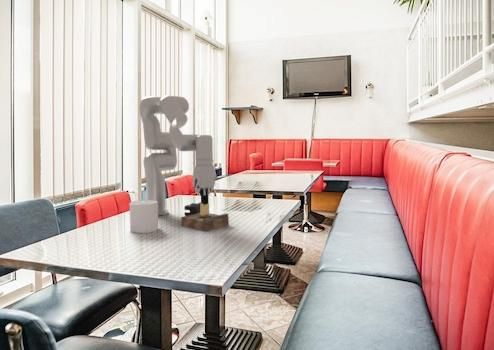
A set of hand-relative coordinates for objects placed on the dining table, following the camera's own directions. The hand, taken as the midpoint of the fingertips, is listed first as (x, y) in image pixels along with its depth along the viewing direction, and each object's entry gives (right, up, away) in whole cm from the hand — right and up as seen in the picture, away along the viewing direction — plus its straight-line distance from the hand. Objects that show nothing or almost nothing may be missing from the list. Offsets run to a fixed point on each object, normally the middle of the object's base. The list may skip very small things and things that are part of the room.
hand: (204, 203), depth 172 cm
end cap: (-7, -9, +20) cm, 22 cm away
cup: (-25, -11, -6) cm, 28 cm away
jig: (0, -10, +1) cm, 10 cm away
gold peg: (0, -10, +1) cm, 10 cm away
